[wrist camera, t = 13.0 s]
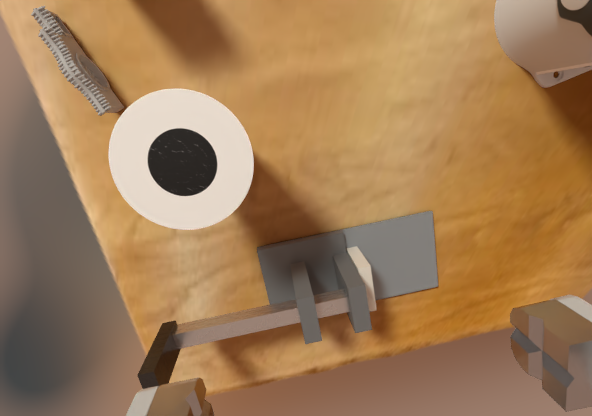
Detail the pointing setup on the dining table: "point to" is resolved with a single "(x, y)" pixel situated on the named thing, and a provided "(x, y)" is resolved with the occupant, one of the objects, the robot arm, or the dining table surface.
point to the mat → (398, 253)
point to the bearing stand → (314, 278)
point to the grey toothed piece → (76, 63)
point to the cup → (181, 159)
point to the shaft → (226, 331)
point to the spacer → (363, 274)
